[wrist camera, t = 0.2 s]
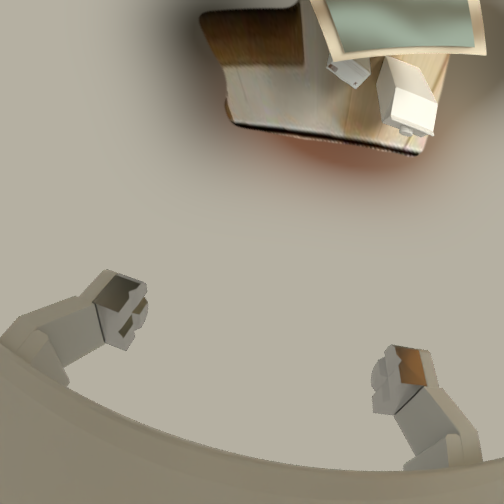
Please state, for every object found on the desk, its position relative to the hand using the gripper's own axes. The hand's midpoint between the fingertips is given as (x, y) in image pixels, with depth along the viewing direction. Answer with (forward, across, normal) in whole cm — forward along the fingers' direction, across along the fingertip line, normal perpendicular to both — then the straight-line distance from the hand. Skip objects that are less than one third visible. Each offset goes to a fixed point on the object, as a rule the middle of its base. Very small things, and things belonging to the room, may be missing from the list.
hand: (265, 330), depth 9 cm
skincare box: (+52, -5, -18) cm, 55 cm away
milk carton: (+53, -15, -15) cm, 57 cm away
